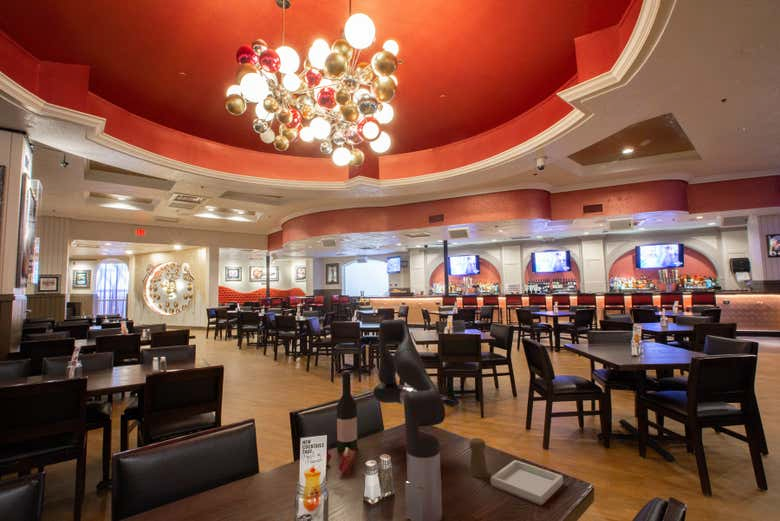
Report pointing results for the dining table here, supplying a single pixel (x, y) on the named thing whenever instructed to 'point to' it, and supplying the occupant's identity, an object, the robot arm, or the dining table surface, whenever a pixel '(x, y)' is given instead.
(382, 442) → the dining table surface
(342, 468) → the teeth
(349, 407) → the wine bottle
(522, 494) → the serving tray
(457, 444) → the dining table surface
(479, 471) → the cork
